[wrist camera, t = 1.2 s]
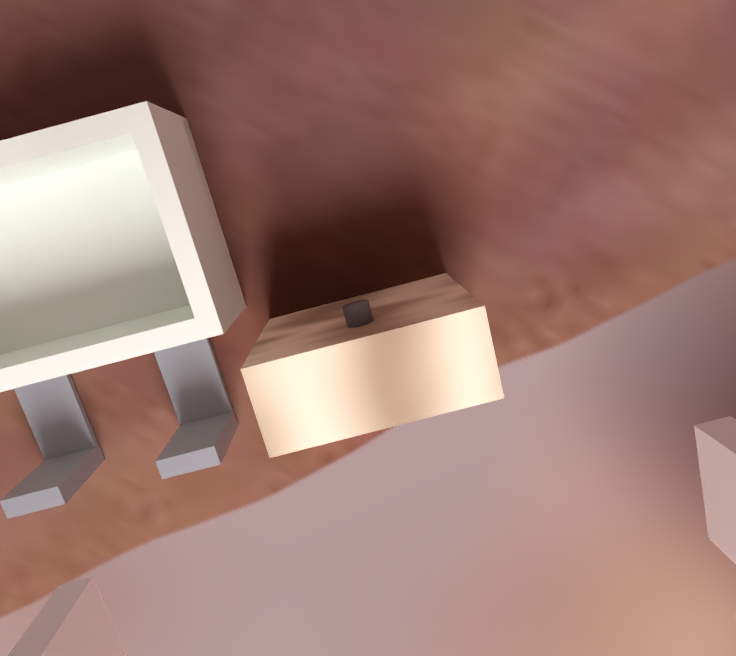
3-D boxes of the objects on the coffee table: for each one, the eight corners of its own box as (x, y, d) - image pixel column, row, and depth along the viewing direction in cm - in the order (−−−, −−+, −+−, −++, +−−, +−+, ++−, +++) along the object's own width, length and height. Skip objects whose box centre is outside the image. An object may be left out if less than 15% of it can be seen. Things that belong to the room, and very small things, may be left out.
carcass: (13, 482, 33) (-57, 545, 27) (-115, 199, 29) (-229, 202, 23) (280, 414, 33) (266, 463, 27) (186, 118, 29) (146, 100, 23)
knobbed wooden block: (290, 385, 33) (269, 457, 24) (264, 303, 31) (233, 348, 23) (461, 341, 32) (504, 398, 24) (442, 257, 31) (480, 283, 22)
